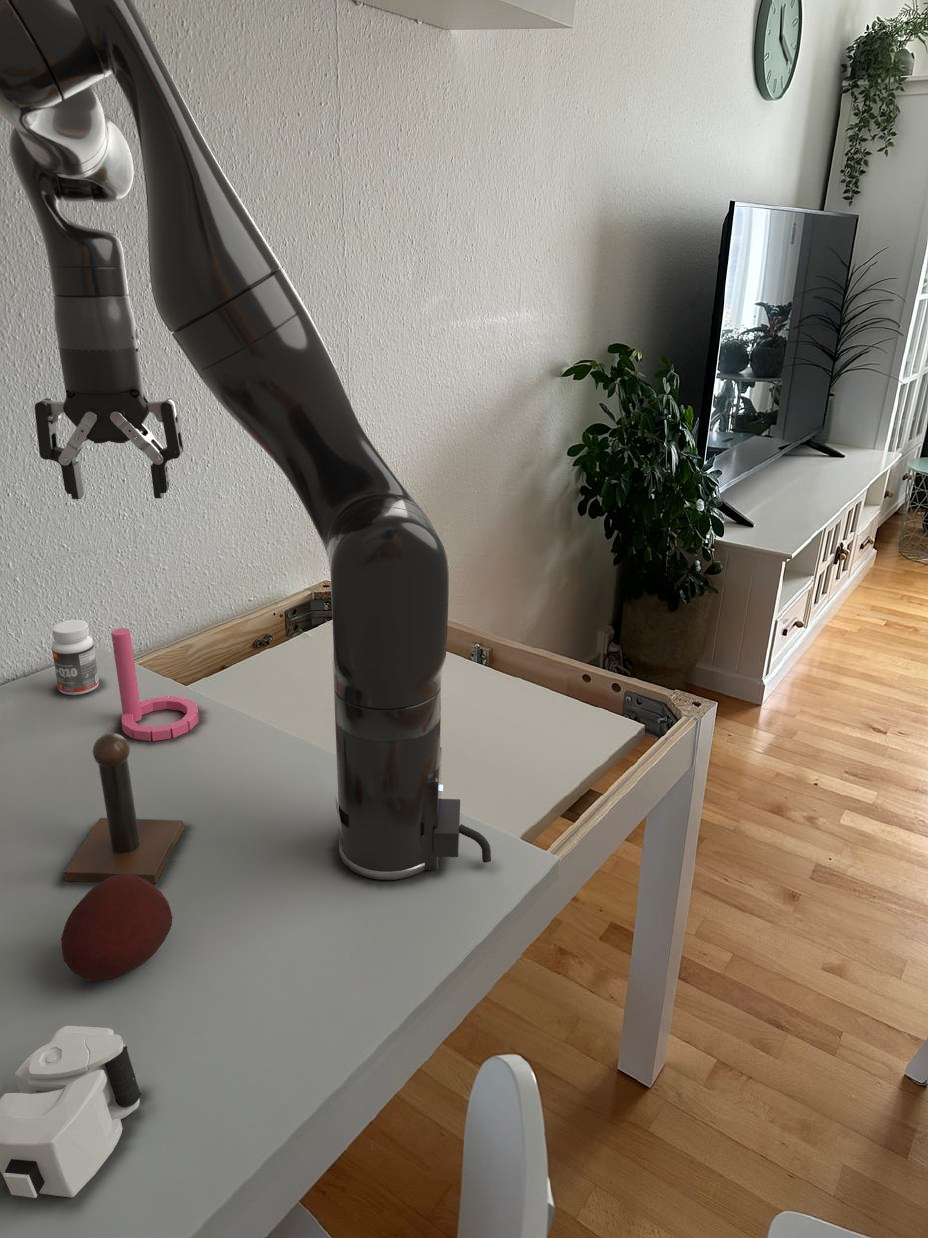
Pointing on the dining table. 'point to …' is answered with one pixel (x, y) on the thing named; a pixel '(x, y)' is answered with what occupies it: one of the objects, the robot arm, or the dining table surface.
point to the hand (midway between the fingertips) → (119, 497)
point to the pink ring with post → (136, 708)
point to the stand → (122, 826)
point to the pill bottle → (74, 658)
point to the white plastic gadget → (66, 1112)
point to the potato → (115, 928)
